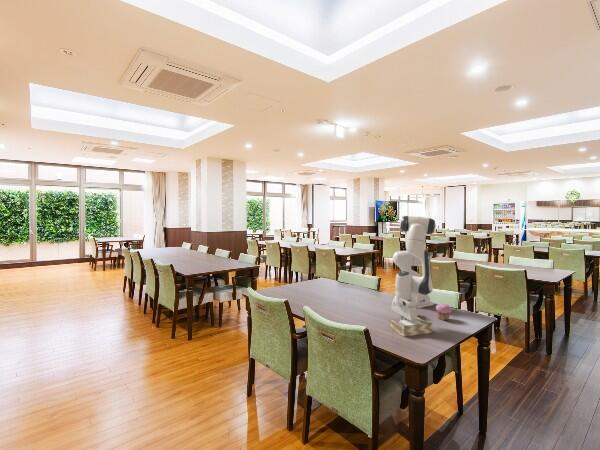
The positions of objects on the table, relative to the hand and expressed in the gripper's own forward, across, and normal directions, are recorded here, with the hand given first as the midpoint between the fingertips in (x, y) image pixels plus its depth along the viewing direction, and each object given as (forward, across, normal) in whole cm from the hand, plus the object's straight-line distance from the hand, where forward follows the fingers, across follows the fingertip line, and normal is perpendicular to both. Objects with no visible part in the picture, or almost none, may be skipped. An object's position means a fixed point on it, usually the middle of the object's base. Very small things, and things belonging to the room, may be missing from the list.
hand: (403, 323), depth 184 cm
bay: (+2, +6, 0) cm, 6 cm away
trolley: (+2, +7, 0) cm, 7 cm away
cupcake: (+2, -2, +30) cm, 30 cm away
